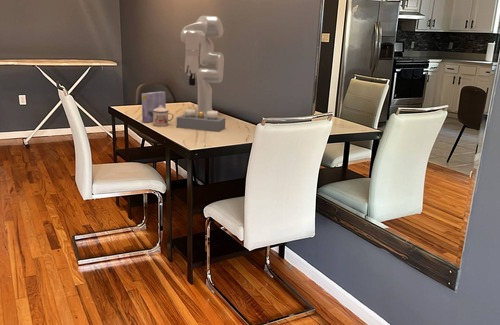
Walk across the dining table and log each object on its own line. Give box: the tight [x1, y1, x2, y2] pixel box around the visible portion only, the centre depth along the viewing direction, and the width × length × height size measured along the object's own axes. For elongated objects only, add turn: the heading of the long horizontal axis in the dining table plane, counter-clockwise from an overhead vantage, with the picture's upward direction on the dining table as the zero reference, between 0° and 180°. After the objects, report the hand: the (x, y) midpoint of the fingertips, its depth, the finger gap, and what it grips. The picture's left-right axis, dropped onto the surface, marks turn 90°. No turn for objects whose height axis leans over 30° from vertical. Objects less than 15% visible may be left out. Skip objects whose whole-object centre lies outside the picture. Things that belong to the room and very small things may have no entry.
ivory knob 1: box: [184, 108, 197, 118], centre depth 272 cm, size 6×6×9 cm
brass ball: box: [197, 111, 204, 118], centre depth 270 cm, size 4×4×4 cm
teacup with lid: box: [153, 105, 174, 127], centre depth 274 cm, size 12×9×12 cm
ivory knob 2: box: [207, 110, 219, 120], centre depth 268 cm, size 6×6×9 cm
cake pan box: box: [141, 91, 167, 124], centre depth 285 cm, size 19×5×18 cm, turn 152°
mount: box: [176, 113, 226, 133], centre depth 271 cm, size 12×26×6 cm, turn 73°
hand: (192, 85), depth 270 cm, fingers closed
